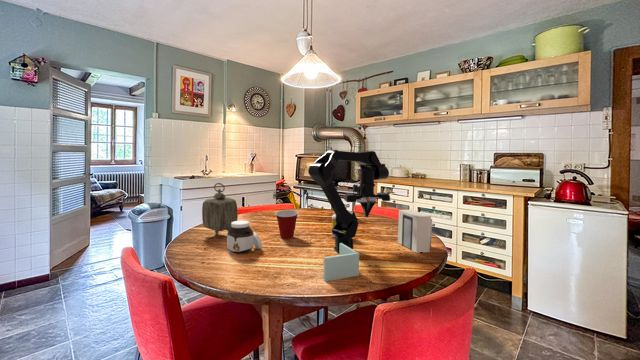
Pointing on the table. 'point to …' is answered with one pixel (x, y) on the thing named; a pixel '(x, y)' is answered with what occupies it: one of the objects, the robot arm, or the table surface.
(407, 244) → the light grey rectangular block
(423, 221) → the housing
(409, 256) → the table surface
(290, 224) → the plastic cup
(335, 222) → the supplement bottle
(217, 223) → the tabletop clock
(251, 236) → the spread jar
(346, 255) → the l-shaped corner panel
